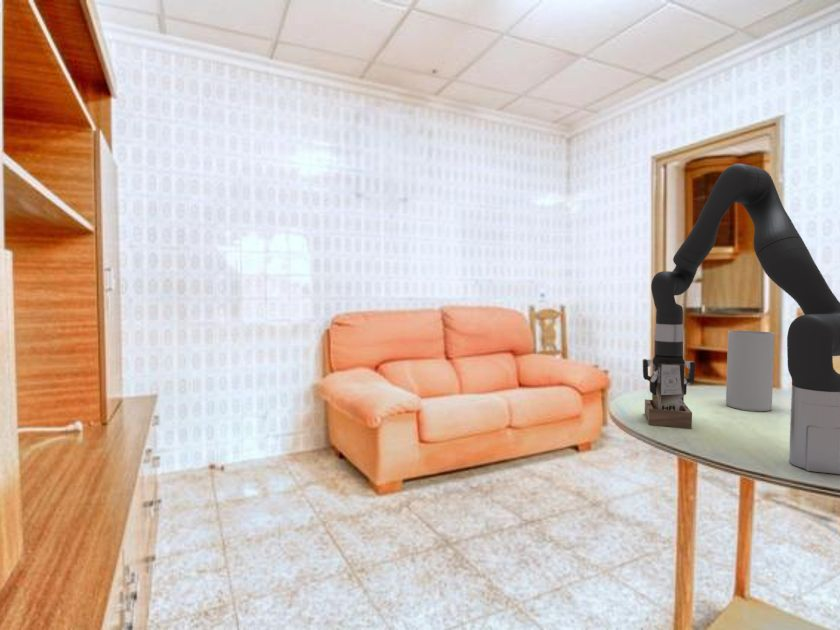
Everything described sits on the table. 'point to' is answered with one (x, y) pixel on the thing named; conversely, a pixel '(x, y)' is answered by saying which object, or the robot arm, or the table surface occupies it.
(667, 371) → the coffee box
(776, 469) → the table surface
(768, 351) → the cylinder vase
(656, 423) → the brown wooden tray
